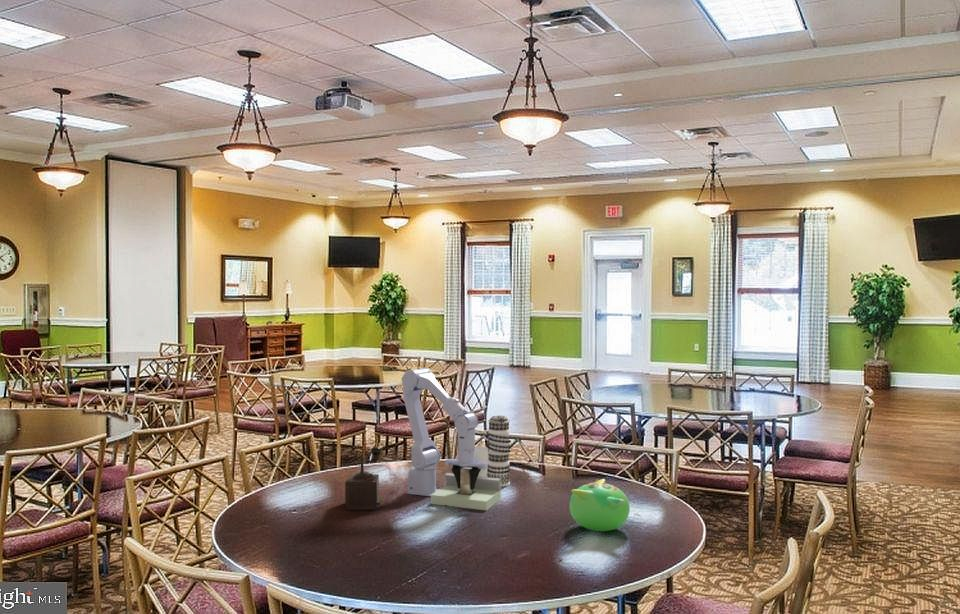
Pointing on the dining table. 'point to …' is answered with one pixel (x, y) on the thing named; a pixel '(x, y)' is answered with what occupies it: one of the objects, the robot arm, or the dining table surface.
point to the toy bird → (599, 506)
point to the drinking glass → (482, 458)
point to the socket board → (480, 499)
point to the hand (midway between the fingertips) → (466, 488)
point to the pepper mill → (363, 487)
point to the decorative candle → (499, 449)
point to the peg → (465, 481)
